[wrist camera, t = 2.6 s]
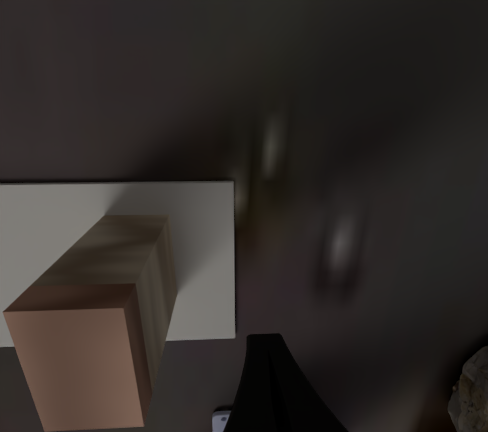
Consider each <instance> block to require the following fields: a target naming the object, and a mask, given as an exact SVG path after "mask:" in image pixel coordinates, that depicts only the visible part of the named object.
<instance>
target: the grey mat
mask: <svg viewBox="0 0 488 432" xmlns="http://www.w3.org/2000/svg"><path fill="white" fill-rule="evenodd" d="M168 214H170V224H171V235H172V246H173V257H174V267H175V278H176V289H177V297H176V301H175V305H174V309H173V313H172V317H171V321H170V325H169V329H168V333H167V337H166V341H171V340H198V339H224V338H235V278H234V182H233V181H173V182H79V183H0V347H12V346H14V343H13V340H12V338H11V335H10V332H9V329H8V326H7V323H6V321H5V318H4V315H3V311H4V310H5V309H6V308H7V307H8V306H9V305H10V304H11V303H12V302H14V301H15V300H16V299H17V298H18V297H19V296H20V295H21V294H22V293H23V292H24V291H25V290H26V289H27V288H28V287H29V286H30V285H31V284H32V283H33V282H35V281H36V280H37V279H38V278H39V277H40V276H41V275H42V274H43V273H44V272H45V271H46V270H47V269H48V268H49V267H50V266H51V265H52V264H53V263H55V262H56V261H57V260H58V259H59V258H60V257H61V256H62V255H63V254H64V253H65V252H66V251H67V250H68V249H69V248H70V247H71V246H72V245H73V244H74V243H76V242H77V241H78V240H79V239H80V238H81V237H82V236H83V235H84V234H85V233H86V232H87V231H88V230H89V229H90V228H91V227H92V226H93V225H94V224H96V223H97V222H98V221H99V220H100V219H101V218H102V217H103V216H107V215H168Z"/></svg>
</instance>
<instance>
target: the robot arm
mask: <svg viewBox="0 0 488 432" xmlns="http://www.w3.org/2000/svg"><path fill="white" fill-rule="evenodd" d="M212 425H213V432H348V431H347V429H346V428H345V427H344V426H343V425H342V424H341V423H340V422H339V420H338V419H337V418H336V417H335V416H334V414H333V413H332V412H331V411H330V410H329V408H328V407H327V406H326V405H325V403H324V402H323V401H322V399H321V398H320V397H319V395H318V394H317V393H316V391H315V390H314V389H313V387H312V386H311V384H310V383H309V382H308V380H307V379H306V377H305V375H304V374H303V372H302V371H301V369H300V368H299V366H298V365H297V363H296V361H295V360H294V358H293V356H292V355H291V353H290V351H289V349H288V347H287V346H286V344H285V342H284V340H283V337H282V335H280V334H279V333H278V334H251V335H248V336H247V351H246V358H245V363H244V368H243V372H242V377H241V381H240V384H239V388H238V391H237V394H236V397H235V401H234V404H233V407H232V410H231V411H217V412H214V413H213V415H212Z"/></svg>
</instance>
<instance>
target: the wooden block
mask: <svg viewBox="0 0 488 432" xmlns="http://www.w3.org/2000/svg"><path fill="white" fill-rule="evenodd" d="M176 297H177V289H176V278H175V267H174V257H173V246H172V235H171V224H170V214H168V215H107V216H103V217H102V218H101V219H100V220H99V221H98V222H97V223H96V224H94V225H93V226H92V227H91V228H90V229H89V230H88V231H87V232H86V233H85V234H84V235H83V236H82V237H81V238H80V239H79V240H78V241H77V242H76V243H74V244H73V245H72V246H71V247H70V248H69V249H68V250H67V251H66V252H65V253H64V254H63V255H62V256H61V257H60V258H59V259H58V260H57V261H56V262H55V263H53V264H52V265H51V266H50V267H49V268H48V269H47V270H46V271H45V272H44V273H43V274H42V275H41V276H40V277H39V278H38V279H37V280H36V281H35V282H33V283H32V284H31V285H30V286H29V287H28V288H27V289H26V290H25V291H24V292H23V293H22V294H21V295H20V296H19V297H18V298H17V299H16V300H15V301H14V302H12V303H11V304H10V305H9V306H8V307H7V308H6V309H5V310H4V311H3V315H4V318H5V321H6V323H7V326H8V329H9V332H10V335H11V338H12V340H13V343H14V346H15V349H16V352H17V355H18V357H19V360H20V363H21V366H22V369H23V372H24V374H25V377H26V380H27V383H28V386H29V388H30V391H31V394H32V397H33V400H34V403H35V405H36V408H37V411H38V414H39V417H40V420H41V422H42V425H43V428H44V431H45V432H47V431H66V430H85V429H104V428H123V427H143V426H144V424H145V420H146V416H147V412H148V409H149V405H150V401H151V397H152V393H153V389H154V385H155V381H156V377H157V373H158V369H159V365H160V361H161V357H162V353H163V349H164V345H165V341H166V337H167V333H168V329H169V325H170V321H171V317H172V313H173V309H174V305H175V301H176Z"/></svg>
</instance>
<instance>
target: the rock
mask: <svg viewBox="0 0 488 432" xmlns="http://www.w3.org/2000/svg"><path fill="white" fill-rule="evenodd" d="M462 373H463V374H462V375H461V376H460V380H458V381H457V383H456V384H455V385H454V386H453V393H452V395H451V400H450V401H449V404H448V412H449V414H450V415H451V419H452V421H453V423H454V425H455V428H456V430H457V432H488V345H487V346H485V347H483V348H482V349H480V350H479V351H478V352H476V353H475V354H474V355H473V356H472V357H471V358H470V359H469V360H468V361H467V362H466V363H465V364H464V365H463V369H462Z"/></svg>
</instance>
